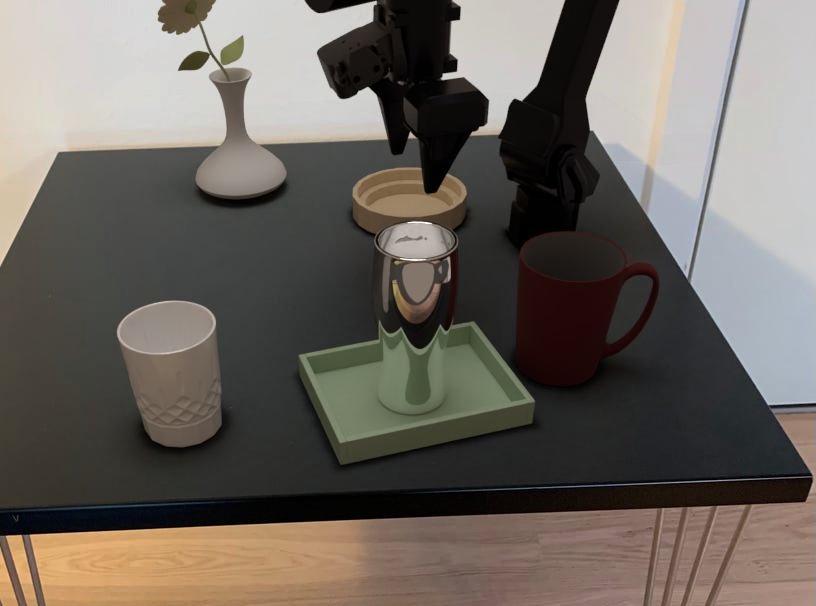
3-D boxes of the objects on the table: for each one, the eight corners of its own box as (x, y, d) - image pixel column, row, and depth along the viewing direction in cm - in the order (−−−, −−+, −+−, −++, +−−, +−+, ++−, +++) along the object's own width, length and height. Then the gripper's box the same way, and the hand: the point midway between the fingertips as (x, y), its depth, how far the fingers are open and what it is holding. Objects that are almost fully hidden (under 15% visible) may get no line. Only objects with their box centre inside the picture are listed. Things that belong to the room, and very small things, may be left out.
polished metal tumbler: (446, 422, 77) (456, 264, 67) (366, 414, 78) (364, 258, 68) (454, 375, 82) (465, 221, 72) (379, 368, 83) (379, 216, 73)
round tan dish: (440, 184, 113) (441, 160, 111) (482, 230, 104) (484, 206, 102) (339, 200, 110) (338, 176, 108) (373, 249, 101) (373, 224, 99)
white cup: (142, 400, 82) (121, 303, 75) (229, 393, 82) (216, 297, 75) (135, 456, 76) (111, 357, 69) (229, 449, 76) (215, 350, 69)
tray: (472, 342, 87) (474, 320, 85) (532, 423, 77) (535, 401, 76) (299, 376, 84) (298, 354, 82) (340, 465, 74) (339, 442, 73)
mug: (634, 341, 86) (659, 234, 79) (644, 397, 80) (672, 286, 72) (507, 334, 88) (519, 229, 80) (507, 388, 81) (520, 279, 74)
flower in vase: (268, 163, 119) (250, -52, 102) (301, 196, 112) (287, -30, 95) (173, 183, 116) (138, -37, 99) (200, 219, 108) (167, -13, 91)
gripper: (295, -27, 80) (305, 148, 90) (359, 33, 66) (361, 230, 77) (414, -40, 82) (410, 132, 92) (499, 16, 68) (483, 209, 79)
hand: (413, 172), depth 85 cm, fingers open, 9 cm apart
